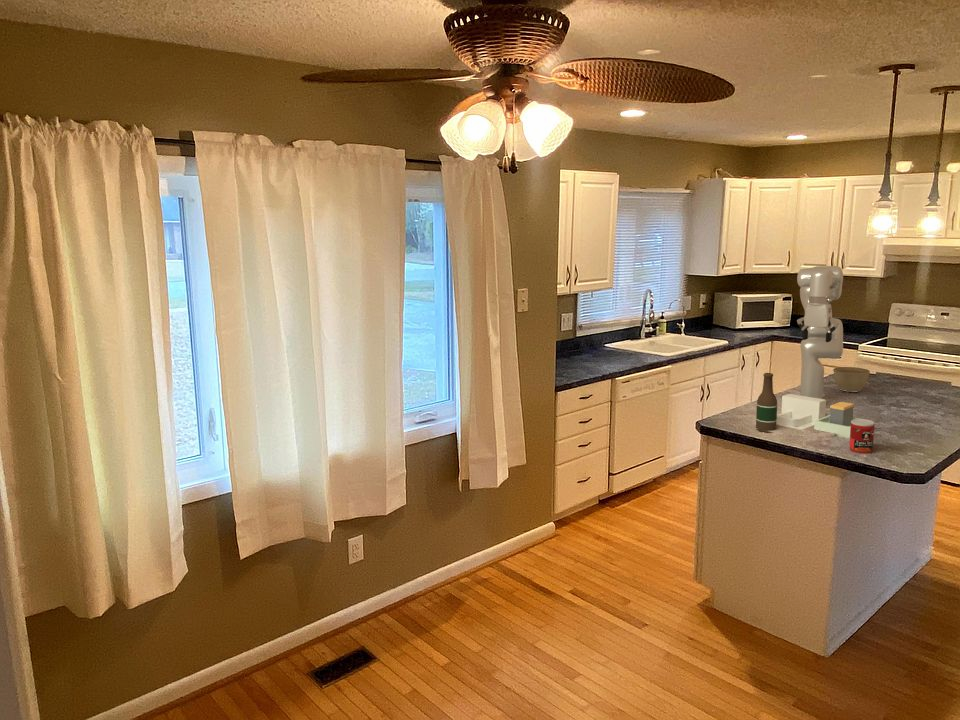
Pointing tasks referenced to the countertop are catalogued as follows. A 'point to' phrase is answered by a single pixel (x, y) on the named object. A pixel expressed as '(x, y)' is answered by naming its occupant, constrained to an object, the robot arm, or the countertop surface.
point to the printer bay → (800, 411)
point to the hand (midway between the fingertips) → (816, 340)
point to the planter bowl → (851, 378)
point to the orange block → (841, 413)
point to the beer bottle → (766, 406)
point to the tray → (832, 427)
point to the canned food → (861, 435)
